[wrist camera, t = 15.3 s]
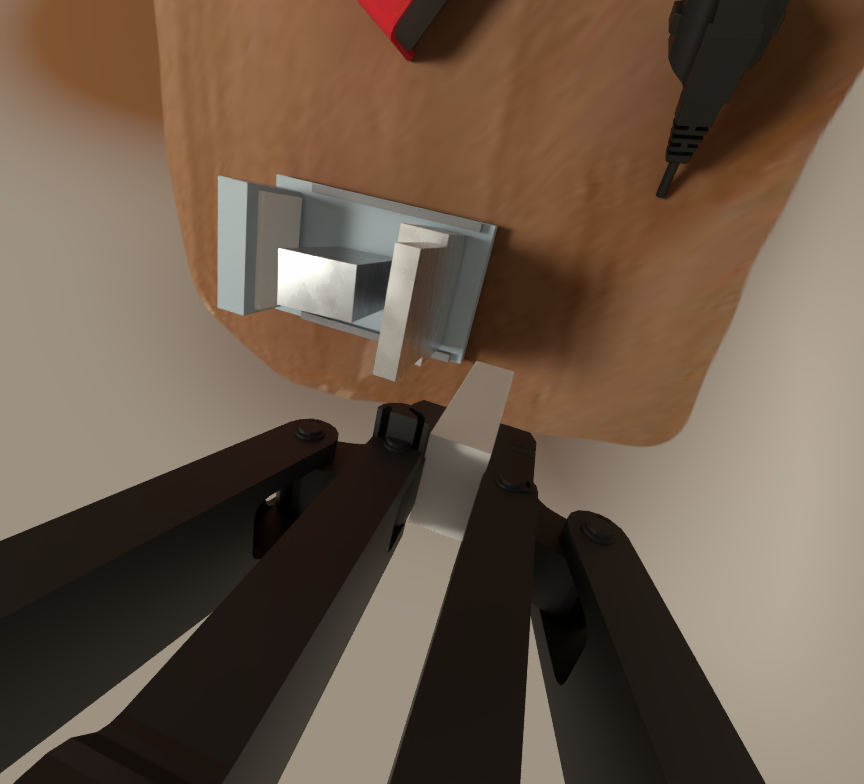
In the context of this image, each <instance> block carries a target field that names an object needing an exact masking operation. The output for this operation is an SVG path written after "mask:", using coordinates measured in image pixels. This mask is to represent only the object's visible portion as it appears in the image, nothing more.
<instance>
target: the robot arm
mask: <svg viewBox="0 0 864 784" xmlns="http://www.w3.org/2000/svg"><path fill="white" fill-rule="evenodd" d="M514 373H515V372H513V371H510V370H506V369H503V368H499V367H496V366H493V365H489V364H486V363H482V362H479V361H476V362H475V364H474V365H473V367H472V368H471V370H470V372H469V373H468V375H467V376H466V378H465V379H464V381H463V383H462V384H461V386H460V387H459V389H458V391H457V392H456V394H455V395H454V397H453V398H452V400H451V402H450V403H449V405H448V406H447V407H444V406H441V405H438V404H435V403H431V402H428V401H425V400H423V401H420V402H417V403H414V404H413V405H408V404H404V403H387V404H383V405H381V406H379V407H378V410H377V415H376V421H375V426H374V432H373V437H372V438H371V439H370V440H369V441H368V442H367V443H366V444H353V443H345V442H339V441H338V435H339V434H338V432H337V430H336V428H335V427H333V426H332V425H331V424H329V423H326V422H324V421H321V420H317V419H316V420H315V419H299V420H295V421H292V422H289V423H286V424H284V425H281V426H279V427H277V428H274V429H272V430H269V431H267V432H265V433H262V434H260V435H257V436H255V437H252V438H250V439H247V440H245V441H243V442H240V443H238V444H235V445H233V446H231V447H228V448H225V449H223V450H221V451H218V452H216V453H213V454H211V455H208V456H206V457H204V458H201V459H199V460H196V461H194V462H192V463H189V464H187V465H184V466H182V467H179V468H177V469H175V470H172V471H170V472H167V473H165V474H163V475H160V476H157V477H155V478H153V479H150V480H148V481H145V482H143V483H140V484H138V485H136V486H133V487H131V488H128V489H126V490H123V491H121V492H118V493H116V494H114V495H111V496H109V497H106V498H104V499H101V500H99V501H96V502H94V503H92V504H89V505H87V506H84V507H82V508H80V509H77V510H75V511H72V512H70V513H67V514H65V515H63V516H60V517H58V518H55V519H53V520H50V521H48V522H45V523H43V524H41V525H38V526H36V527H33V528H31V529H29V530H26V531H24V532H21V533H19V534H16V535H14V536H11V537H9V538H7V539H4V540H2V541H0V773H1V772H3V771H4V770H5V769H7V768H8V767H9V766H10V765H12V764H13V763H14V762H16V761H17V760H18V759H20V758H21V757H22V756H23V755H25V754H26V753H27V752H29V751H30V750H31V749H33V748H34V747H35V746H37V745H38V744H39V743H41V742H42V741H43V740H45V739H46V738H47V737H49V736H50V735H51V734H53V733H54V732H55V731H56V730H58V729H59V728H60V727H62V726H63V725H64V724H66V723H67V722H68V721H70V720H71V719H72V718H74V717H75V716H76V715H78V714H79V713H80V712H81V711H83V710H84V709H85V708H87V707H88V706H89V705H91V704H92V703H93V702H95V701H96V700H97V699H98V698H100V697H101V696H103V695H104V694H105V693H107V692H108V691H109V690H110V689H112V688H113V687H114V686H116V685H117V684H118V683H120V682H121V681H122V680H124V679H125V678H126V677H128V676H129V675H130V674H131V673H133V672H134V671H135V670H137V669H138V668H139V667H141V666H142V665H143V664H144V663H146V662H147V661H148V660H150V659H151V658H152V657H154V656H155V655H156V654H158V653H159V652H160V651H162V650H163V649H164V648H166V647H167V646H168V645H170V644H171V643H172V642H174V641H175V640H176V639H178V638H179V637H180V636H181V635H183V634H184V633H185V632H187V631H188V630H189V629H191V628H192V627H193V626H195V625H196V624H197V623H198V622H200V621H201V620H202V619H204V618H205V617H206V616H208V615H209V614H210V613H211V614H210V616H209V617H208V618H207V619H206V620H205V621H204V622H203V623H202V624H201V625H200V627H199V628H198V629H197V630H196V631H195V632H194V633H193V634H192V636H190V638H189V639H188V640H187V641H186V642H185V643H184V644H183V645H182V646H181V648H180V649H179V650H178V651H177V652H176V653H175V654H174V655H173V656H172V658H170V660H169V661H168V662H167V663H166V664H165V665H164V666H163V667H162V668H161V669H160V670H159V672H158V673H157V674H156V675H155V676H154V677H153V678H152V679H151V680H150V681H149V683H148V684H147V685H146V686H145V687H144V688H143V689H142V690H141V691H140V693H139V694H138V695H137V696H136V697H135V698H134V699H133V700H132V701H131V702H130V704H129V705H128V706H127V707H126V708H125V709H124V710H123V711H122V712H121V713H120V714H119V715H118V716H117V717H116V718H115V719H114V720H113V721H112V722H111V723H110V724H108V725H107V726H105V727H104V728H102V729H101V730H100V731H98V732H95V733H91V734H86V735H81V736H77V737H72V738H70V739H68V740H67V741H65V742H64V743H62V744H61V745H59V746H57V747H56V748H54V749H53V750H51V751H49V752H48V753H47V754H45V755H44V756H43V757H42V758H41V759H40V760H39V761H38V762H36V763H35V764H34V765H33V766H32V767H31V768H30V769H29V770H28V771H26V772H25V773H24V774H23V775H22V776H21V777H20V778H19V779H18V780H16V781H15V782H14V784H277V783H278V781H279V779H280V777H281V775H282V773H283V771H284V770H285V767H286V765H287V763H288V761H289V760H290V758H291V756H292V754H293V752H294V750H295V748H296V745H297V744H298V742H299V740H300V738H301V736H302V734H303V732H304V730H305V728H306V725H307V724H308V722H309V720H310V718H311V716H312V714H313V712H314V709H315V708H316V706H317V704H318V702H319V700H320V698H321V696H322V694H323V692H324V690H325V688H326V686H327V684H328V682H329V680H330V678H331V676H332V674H333V672H334V670H335V668H336V666H337V664H338V662H339V660H340V658H341V656H342V654H343V652H344V650H345V648H346V646H347V644H348V642H349V640H350V638H351V636H352V634H353V632H354V630H355V628H356V626H357V624H358V622H359V621H360V618H361V617H362V615H363V612H364V611H365V609H366V606H367V605H368V603H369V601H370V599H371V597H372V594H373V593H374V591H375V589H376V586H377V585H378V583H379V581H380V579H381V577H382V574H383V573H384V571H385V569H386V567H387V565H388V563H389V561H390V559H391V557H392V555H393V553H394V551H395V549H396V547H397V545H398V543H399V541H400V539H401V537H402V535H403V531H404V527H405V522H406V519H407V517H408V515H409V514H410V512H411V514H410V518H409V522H410V523H413V524H415V525H418V526H421V527H423V528H426V529H429V530H431V531H434V532H437V533H439V534H442V535H445V536H448V537H450V538H452V539H455V540H458V541H461V546H460V548H459V552H458V555H457V558H456V561H455V564H454V567H453V570H452V574H451V577H450V581H449V584H448V587H447V591H446V594H445V597H444V600H443V604H442V607H441V610H440V613H439V617H438V620H437V623H436V626H435V630H434V633H433V636H432V640H431V643H430V646H429V649H428V653H427V656H426V659H425V663H424V666H423V669H422V672H421V675H420V679H419V682H418V685H417V689H416V692H415V695H414V698H413V701H412V705H411V708H410V711H409V714H408V718H407V721H406V725H405V728H404V731H403V734H402V737H401V741H400V744H399V747H398V750H397V754H396V757H395V760H394V764H393V767H392V770H391V773H390V776H389V780H388V783H387V784H520V779H521V762H522V746H523V745H522V744H523V730H524V714H525V698H526V681H527V665H528V648H529V632H530V616H531V620H532V625H533V629H534V634H535V639H536V644H537V649H538V654H539V659H540V664H541V669H542V673H543V678H544V683H545V688H546V693H547V698H548V703H549V708H550V712H551V717H552V722H553V727H554V731H555V737H556V742H557V747H558V751H559V756H560V761H561V766H562V771H563V776H564V780H565V784H765V782H764V780H763V778H762V776H761V774H760V773H759V771H758V769H757V767H756V765H755V764H754V762H753V760H752V758H751V757H750V755H749V753H748V751H747V749H746V748H745V746H744V744H743V742H742V740H741V739H740V737H739V735H738V733H737V731H736V730H735V728H734V726H733V724H732V723H731V721H730V719H729V717H728V715H727V714H726V712H725V710H724V708H723V707H722V705H721V703H720V701H719V699H718V697H717V696H716V694H715V692H714V690H713V689H712V687H711V685H710V683H709V682H708V680H707V678H706V676H705V674H704V672H703V671H702V669H701V667H700V666H699V664H698V662H697V660H696V658H695V656H694V655H693V653H692V651H691V649H690V647H689V646H688V644H687V642H686V641H685V638H684V637H683V635H682V633H681V631H680V630H679V628H678V626H677V624H676V622H675V621H674V619H673V617H672V615H671V614H670V612H669V610H668V608H667V606H666V605H665V603H664V601H663V599H662V597H661V596H660V594H659V592H658V590H657V588H656V587H655V585H654V583H653V581H652V579H651V578H650V576H649V574H648V572H647V571H646V569H645V567H644V565H643V563H642V562H641V560H640V558H639V556H638V554H637V553H636V551H635V549H634V547H633V546H632V544H631V542H630V540H629V538H628V537H627V536H626V534H625V533H624V532H623V530H622V529H621V528H619V527H618V526H617V525H616V524H615V523H613V522H612V521H611V520H609V519H608V518H605V517H604V516H602V515H600V514H596V513H593V512H590V511H580V510H578V511H575V512H572V513H571V514H570V515H569V516H568V518H567V519H566V518H564V517H562V516H560V515H559V514H557V513H555V512H553V511H552V510H550V509H549V508H547V507H546V506H545V505H544V504H543V503H542V502H541V501H540V500H539V499H538V491H537V487H536V485H535V484H534V483H533V479H534V466H535V451H536V441H535V439H534V438H533V436H532V435H531V433H529V432H526V431H523V430H520V429H517V428H514V427H511V426H507V425H504V424H501V423H500V422H501V418H502V415H503V411H504V408H505V404H506V401H507V397H508V394H509V390H510V387H511V383H512V380H513V376H514ZM276 492H277V493H276ZM274 493H276V497H275V498H273V499H271V500H269V501H266V500H265V499H267V498H268V497H269V496H270V495H272V494H274Z"/></svg>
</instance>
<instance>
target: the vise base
mask: <svg viewBox="0 0 864 784" xmlns="http://www.w3.org/2000/svg"><path fill="white" fill-rule="evenodd" d="M401 223H406V224H415V225H424V226H430V227H434V228H438V229H442V230H446V231H451V232H455V233H459V234H463V235H467V240H466V244H465V248H464V252H463V257H462V261H461V265H460V269H459V274H458V278H457V282H456V286H455V291H454V295H453V299H452V303H451V308H450V312H449V316H448V321H447V325H446V329H445V333H444V338H443V342H442V346H441V347H440V348H439V349H438V350H437V351H436V352H435V353H434V354H433V355H432V356H431V358H435V359H438V360H441V361H445V362H449V361H453V362H456V363H459V364H460V363H461V362H462V360H463V358H464V354H465V351H466V347H467V343H468V339H469V335H470V331H471V328H472V324H473V320H474V316H475V312H476V308H477V305H478V301H479V297H480V293H481V289H482V285H483V282H484V278H485V274H486V270H487V266H488V262H489V259H490V255H491V251H492V247H493V243H494V239H495V236H496V232H497V228H498V226H495V225H490V224H486V223H482V222H478V221H473V220H469V219H465V218H461V217H456V216H452V215H448V214H444V213H439V212H435V211H431V210H427V209H422V208H418V207H414V206H410V205H405V204H401V203H397V202H393V201H389V200H384V199H380V198H376V197H372V196H367V195H363V194H359V193H355V192H350V191H346V190H342V189H338V188H333V187H329V186H325V185H321V184H316V183H312V182H308V181H304V180H299V179H295V178H291V177H287V176H282V175H278V174H277V180H276V186H271V185H266V184H260V183H255V182H250V181H245V180H240V179H234V178H229V177H224V176H219V175H218V308H221V309H224V310H227V311H231V312H234V313H237V314H240V315H248V314H252V313H256V312H260V311H264V310H268V309H272V308H275V309H279V310H282V311H285V312H289V313H292V314H295V315H299V316H301V319H304V320H308V321H311V322H314V323H318V324H321V325H324V326H328V327H331V328H334V329H338V330H341V331H344V332H348V333H351V334H354V335H358V336H361V337H364V338H368V339H371V340H374V341H378V342H379V336H380V330H381V324H382V318H383V312H384V310H381V311H379V312H376V313H374V314H371V315H369V316H367V317H364V318H362V319H359V320H357V321H354V322H352V323H350V322H346V321H342V320H338V319H334V318H330V317H326V316H322V315H318V314H313V313H309V312H305V311H301V310H297V309H293V308H289V307H285V306H281V305H277V296H278V249H279V248H301V247H334V246H340V247H345V248H349V249H354V250H359V251H364V252H369V253H373V254H378V255H383V256H388V257H393V253H394V247H395V242H398V236H399V230H400V225H401Z"/></svg>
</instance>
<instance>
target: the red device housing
mask: <svg viewBox="0 0 864 784" xmlns="http://www.w3.org/2000/svg"><path fill="white" fill-rule="evenodd" d="M357 1H358V2H359V4H360V5H361V6H362V7H363V8H364V10H365V11H366V12H367V13H368V14H369V16H370V17H371V18H372V19H373V20H374V22H375V23H376V24H377V25H378V26H379V27H380V29H381V30H382V31H383V32H384V33H385V35H386V36H387V37H388V38H389V39H390V41H391V42H392V43H393V44H394V45H395V47H396V48H397V49H398V50H399V51H400V52H401V54H402V55H403V56H404V57H405V58H406V60H407V61H411V60H412V58H413V57H414V55H415V53H414V52H413V51H412V50H411V49H412V48H413V47H414V45H415V44H416V43H417V41H418V40H419V38H420V37H421V36H422V34H423V33H424V31H425V30H426V29H427V27H428V26H429V24H430V23H431V22H432V20H433V19H434V17H435V16H436V15H437V13H438V12H439V10H440V9H441V8H442V6H443V5H444V3H445V2H446V1H447V0H357Z"/></svg>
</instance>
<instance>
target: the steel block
mask: <svg viewBox="0 0 864 784" xmlns="http://www.w3.org/2000/svg"><path fill="white" fill-rule="evenodd" d="M392 259H393V257H388V256H383V255H378V254H373V253H369V252H364V251H359V250H354V249H349V248H345V247H340V246H334V247H301V248H279V249H278V296H277V305H281V306H285V307H289V308H293V309H297V310H301V311H305V312H309V313H313V314H318V315H322V316H326V317H330V318H334V319H338V320H342V321H346V322H350V323H352V322H354V321H357V320H359V319H362V318H364V317H367V316H369V315H371V314H374V313H376V312H379V311H381V310H384V306H385V300H386V294H387V288H388V283H389V277H390V271H391V265H392Z"/></svg>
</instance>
